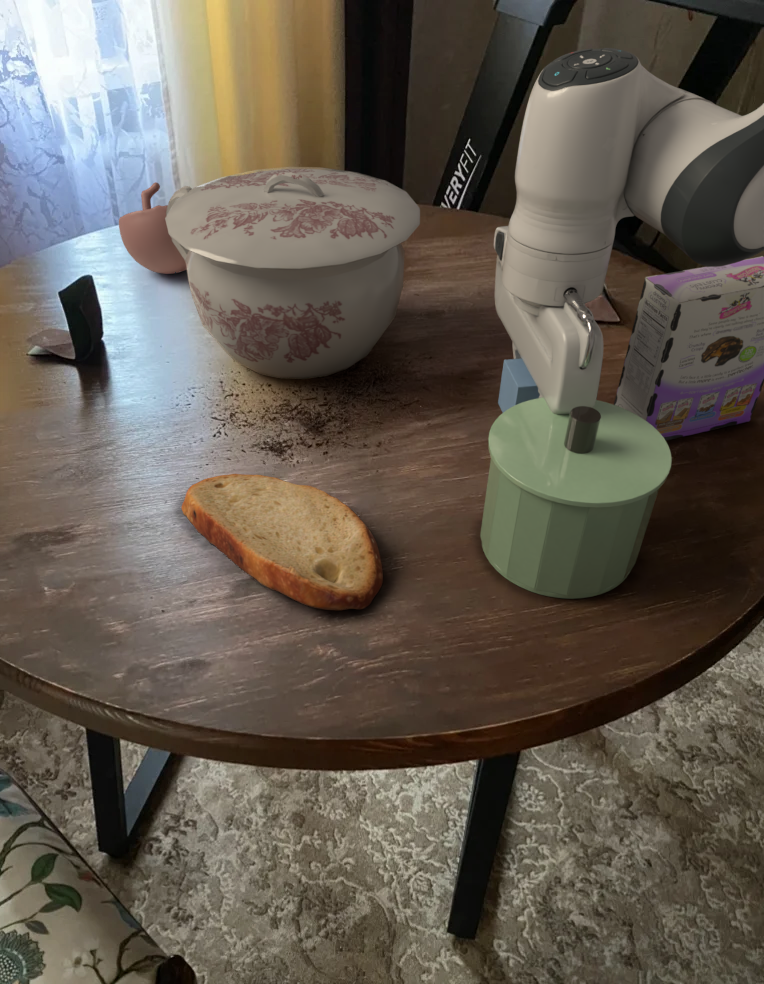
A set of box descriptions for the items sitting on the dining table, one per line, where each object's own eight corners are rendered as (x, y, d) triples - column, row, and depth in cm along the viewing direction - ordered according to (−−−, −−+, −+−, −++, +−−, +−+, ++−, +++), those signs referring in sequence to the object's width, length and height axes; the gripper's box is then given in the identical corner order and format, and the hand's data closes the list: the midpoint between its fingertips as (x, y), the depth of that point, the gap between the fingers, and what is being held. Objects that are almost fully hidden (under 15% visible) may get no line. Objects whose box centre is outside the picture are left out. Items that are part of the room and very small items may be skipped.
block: (545, 399, 85) (553, 355, 82) (561, 427, 81) (570, 383, 78) (497, 403, 85) (503, 359, 81) (511, 431, 81) (518, 387, 77)
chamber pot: (451, 384, 95) (468, 201, 81) (215, 433, 88) (189, 241, 74) (364, 281, 115) (366, 119, 101) (165, 314, 108) (137, 145, 94)
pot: (602, 490, 81) (626, 398, 74) (658, 590, 71) (692, 495, 64) (465, 502, 80) (476, 410, 73) (503, 606, 70) (520, 511, 63)
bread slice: (184, 488, 82) (178, 457, 79) (368, 479, 83) (368, 449, 80) (168, 627, 68) (161, 595, 66) (387, 614, 69) (389, 583, 67)
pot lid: (628, 400, 75) (638, 360, 72) (699, 505, 64) (714, 462, 62) (468, 413, 74) (473, 372, 71) (514, 521, 63) (521, 479, 60)
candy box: (716, 395, 94) (764, 253, 82) (750, 424, 89) (806, 278, 78) (607, 418, 90) (643, 272, 79) (638, 448, 86) (680, 300, 75)
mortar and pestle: (200, 246, 124) (190, 165, 116) (225, 279, 115) (216, 195, 108) (119, 260, 120) (103, 178, 112) (139, 295, 112) (123, 209, 104)
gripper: (635, 320, 65) (600, 462, 75) (554, 218, 80) (533, 347, 90) (557, 325, 65) (531, 468, 74) (490, 222, 80) (475, 351, 89)
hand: (531, 401), depth 82 cm, fingers closed on block, 5 cm apart
